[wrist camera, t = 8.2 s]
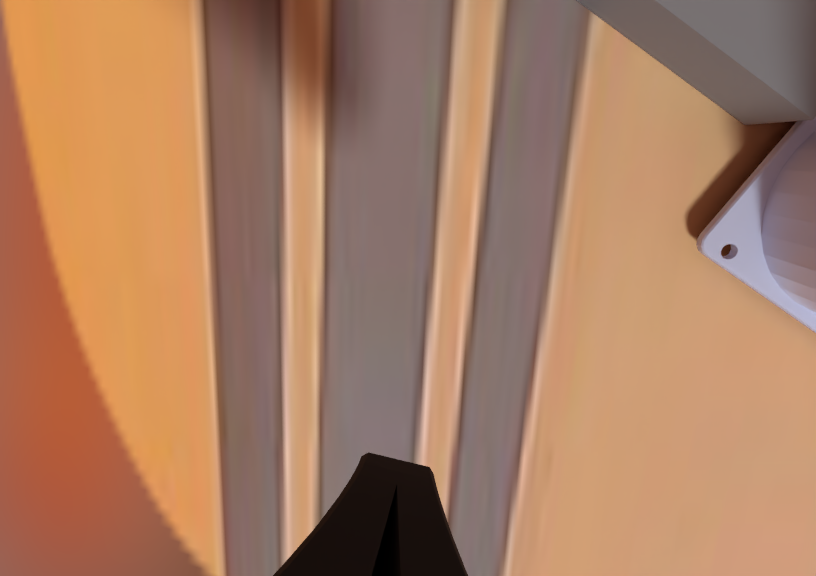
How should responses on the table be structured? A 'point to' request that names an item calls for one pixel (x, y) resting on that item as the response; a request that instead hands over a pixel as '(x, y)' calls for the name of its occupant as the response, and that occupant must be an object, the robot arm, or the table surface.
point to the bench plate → (729, 50)
